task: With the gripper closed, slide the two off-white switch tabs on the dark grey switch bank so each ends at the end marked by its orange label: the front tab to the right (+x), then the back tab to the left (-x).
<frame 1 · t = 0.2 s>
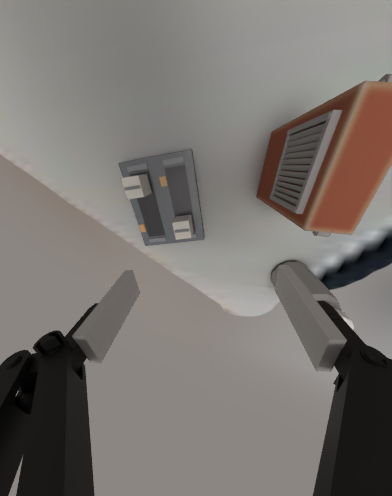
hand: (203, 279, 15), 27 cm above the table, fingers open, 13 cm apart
switch bank: (166, 203, 39), on the table
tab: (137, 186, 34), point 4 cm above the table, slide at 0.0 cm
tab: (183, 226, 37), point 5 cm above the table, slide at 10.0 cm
jar: (287, 273, 46), on the table
orange rectangular box: (275, 167, 34), on the table
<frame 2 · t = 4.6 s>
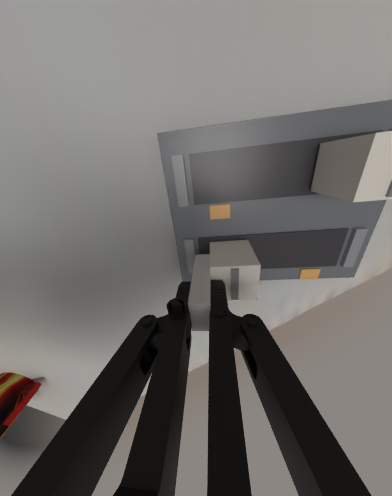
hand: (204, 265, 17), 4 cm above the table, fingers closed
switch bank: (266, 212, 17), on the table
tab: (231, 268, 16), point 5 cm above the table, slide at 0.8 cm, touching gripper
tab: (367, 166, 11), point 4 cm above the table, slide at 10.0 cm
mug: (22, 378, 42), on the table
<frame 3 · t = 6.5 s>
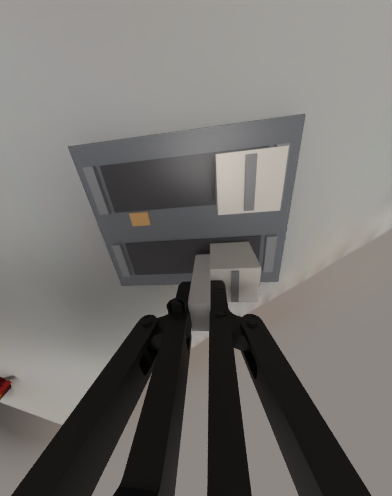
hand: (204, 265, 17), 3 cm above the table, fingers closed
switch bank: (189, 219, 18), on the table
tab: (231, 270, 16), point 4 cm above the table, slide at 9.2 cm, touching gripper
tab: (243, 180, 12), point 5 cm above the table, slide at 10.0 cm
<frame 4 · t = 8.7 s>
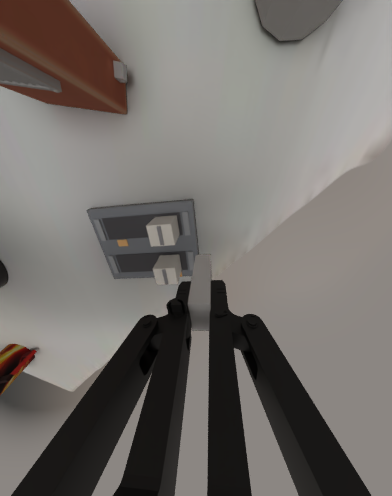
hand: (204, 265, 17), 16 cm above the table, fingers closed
switch bank: (150, 242, 34), on the table
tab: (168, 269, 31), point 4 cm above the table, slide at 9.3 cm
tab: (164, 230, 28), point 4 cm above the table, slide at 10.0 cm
mug: (22, 349, 58), on the table
orange rectangular box: (84, 87, 23), on the table
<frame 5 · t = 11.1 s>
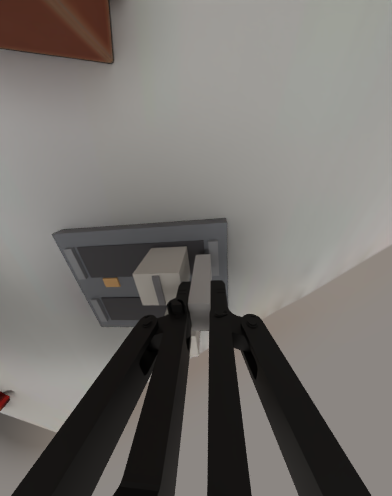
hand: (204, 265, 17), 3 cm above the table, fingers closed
switch bank: (153, 279, 22), on the table
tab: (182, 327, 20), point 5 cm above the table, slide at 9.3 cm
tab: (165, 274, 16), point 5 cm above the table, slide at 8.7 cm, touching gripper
orange rectangular box: (29, 5, 12), on the table
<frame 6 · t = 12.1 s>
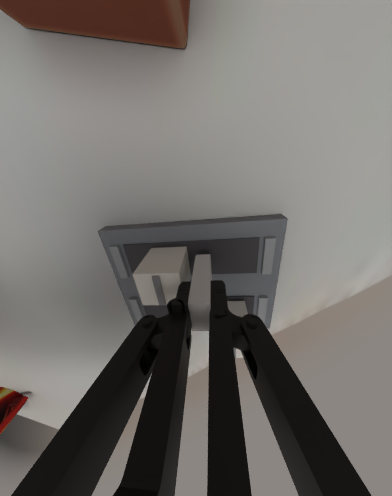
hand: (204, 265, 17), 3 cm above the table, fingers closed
switch bank: (194, 278, 22), on the table
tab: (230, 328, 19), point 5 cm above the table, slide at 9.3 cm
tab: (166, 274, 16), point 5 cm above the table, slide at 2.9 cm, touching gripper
mug: (11, 391, 46), on the table
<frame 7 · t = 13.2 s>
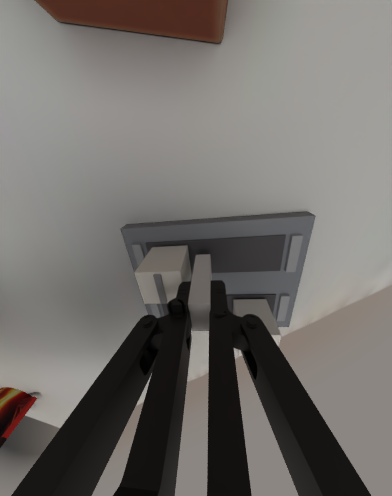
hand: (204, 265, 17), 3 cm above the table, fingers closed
switch bank: (214, 276, 22), on the table
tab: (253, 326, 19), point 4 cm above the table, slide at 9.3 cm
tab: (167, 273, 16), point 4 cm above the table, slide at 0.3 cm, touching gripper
mug: (19, 392, 46), on the table
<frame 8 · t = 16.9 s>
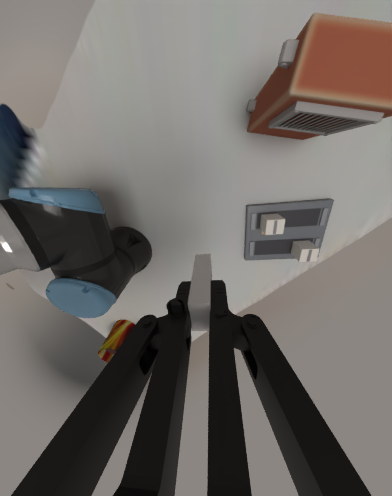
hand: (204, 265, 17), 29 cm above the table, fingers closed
switch bank: (282, 231, 45), on the table
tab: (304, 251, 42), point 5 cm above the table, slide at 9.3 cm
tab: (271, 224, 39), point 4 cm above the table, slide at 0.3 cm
mug: (128, 324, 69), on the table
orange rectangular box: (279, 121, 34), on the table
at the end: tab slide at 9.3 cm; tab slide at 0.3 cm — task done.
